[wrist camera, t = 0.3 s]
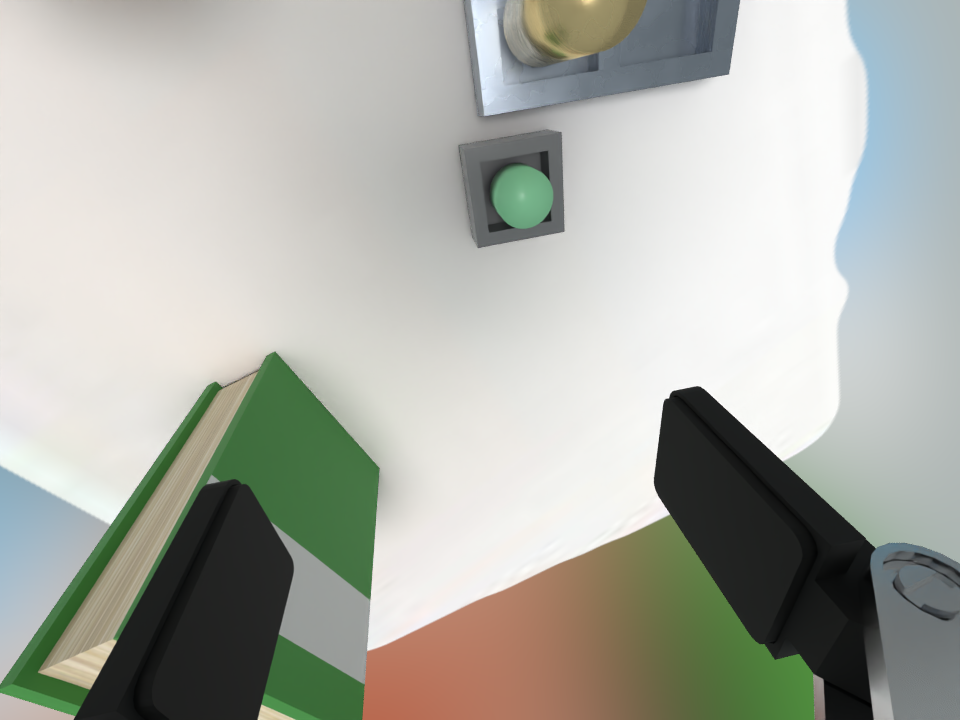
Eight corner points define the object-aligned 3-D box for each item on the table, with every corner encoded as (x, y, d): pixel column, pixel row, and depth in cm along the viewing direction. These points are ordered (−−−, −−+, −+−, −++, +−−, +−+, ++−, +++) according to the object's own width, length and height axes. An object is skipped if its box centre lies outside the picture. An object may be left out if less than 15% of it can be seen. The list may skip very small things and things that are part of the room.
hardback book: (207, 385, 39) (-5, 691, 19) (275, 351, 38) (130, 631, 18) (323, 493, 48) (265, 775, 28) (379, 468, 48) (360, 738, 27)
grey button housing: (458, 145, 32) (463, 149, 29) (548, 129, 32) (561, 132, 29) (472, 236, 35) (478, 247, 33) (552, 221, 36) (564, 231, 33)
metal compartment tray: (477, 115, 31) (484, 116, 28) (456, -62, 26) (461, -80, 23) (703, 76, 32) (728, 74, 29) (725, -102, 27) (758, -123, 24)
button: (486, 167, 30) (493, 173, 28) (539, 158, 31) (551, 163, 28) (493, 223, 33) (500, 233, 30) (542, 214, 33) (554, 223, 30)
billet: (499, -23, 26) (543, -83, 18) (575, -35, 27) (655, -99, 18) (507, 72, 29) (549, 60, 21) (577, 61, 29) (647, 44, 21)
